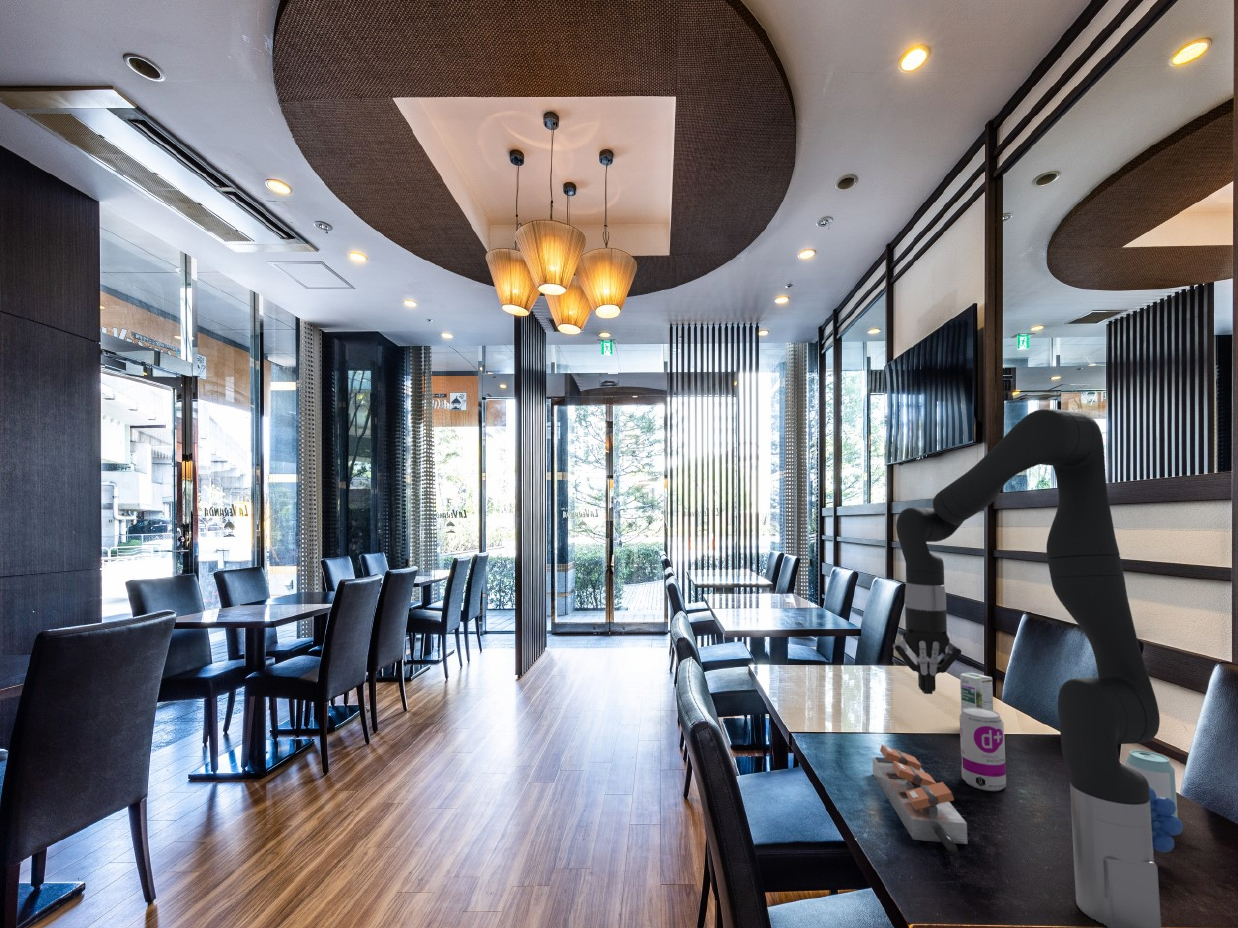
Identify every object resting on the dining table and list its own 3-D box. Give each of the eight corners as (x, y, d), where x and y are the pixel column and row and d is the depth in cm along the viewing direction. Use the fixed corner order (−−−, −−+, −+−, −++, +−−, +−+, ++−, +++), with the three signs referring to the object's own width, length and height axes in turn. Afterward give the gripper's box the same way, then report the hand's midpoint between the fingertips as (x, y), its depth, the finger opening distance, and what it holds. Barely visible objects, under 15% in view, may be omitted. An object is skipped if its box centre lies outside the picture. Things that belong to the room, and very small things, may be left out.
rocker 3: (954, 801, 111) (951, 790, 111) (916, 810, 112) (912, 800, 112) (945, 790, 115) (942, 780, 115) (908, 799, 116) (905, 789, 116)
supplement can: (1013, 793, 127) (1009, 719, 128) (969, 790, 129) (966, 716, 130) (997, 777, 135) (994, 707, 136) (956, 774, 137) (954, 705, 138)
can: (1120, 815, 118) (1116, 750, 119) (1143, 809, 121) (1139, 746, 122) (1163, 832, 112) (1159, 764, 113) (1187, 826, 114) (1182, 759, 115)
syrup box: (960, 728, 167) (958, 673, 168) (975, 725, 169) (972, 671, 170) (980, 735, 162) (978, 678, 163) (995, 731, 164) (992, 676, 165)
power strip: (982, 862, 101) (981, 834, 102) (924, 857, 103) (923, 829, 103) (915, 776, 135) (914, 755, 135) (872, 773, 136) (872, 752, 137)
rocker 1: (919, 772, 128) (921, 764, 128) (885, 759, 130) (887, 751, 130) (912, 763, 133) (914, 755, 133) (879, 751, 134) (882, 743, 134)
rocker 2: (934, 791, 120) (936, 782, 120) (897, 777, 121) (900, 768, 121) (926, 781, 124) (929, 773, 124) (891, 768, 125) (894, 759, 125)
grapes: (1176, 854, 104) (1172, 781, 105) (1191, 875, 98) (1185, 797, 99) (1092, 837, 110) (1088, 768, 111) (1100, 855, 104) (1096, 782, 105)
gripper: (895, 607, 122) (897, 696, 121) (967, 610, 120) (969, 700, 118) (886, 601, 129) (887, 685, 128) (953, 604, 127) (956, 689, 126)
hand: (927, 692), depth 123 cm, fingers closed
